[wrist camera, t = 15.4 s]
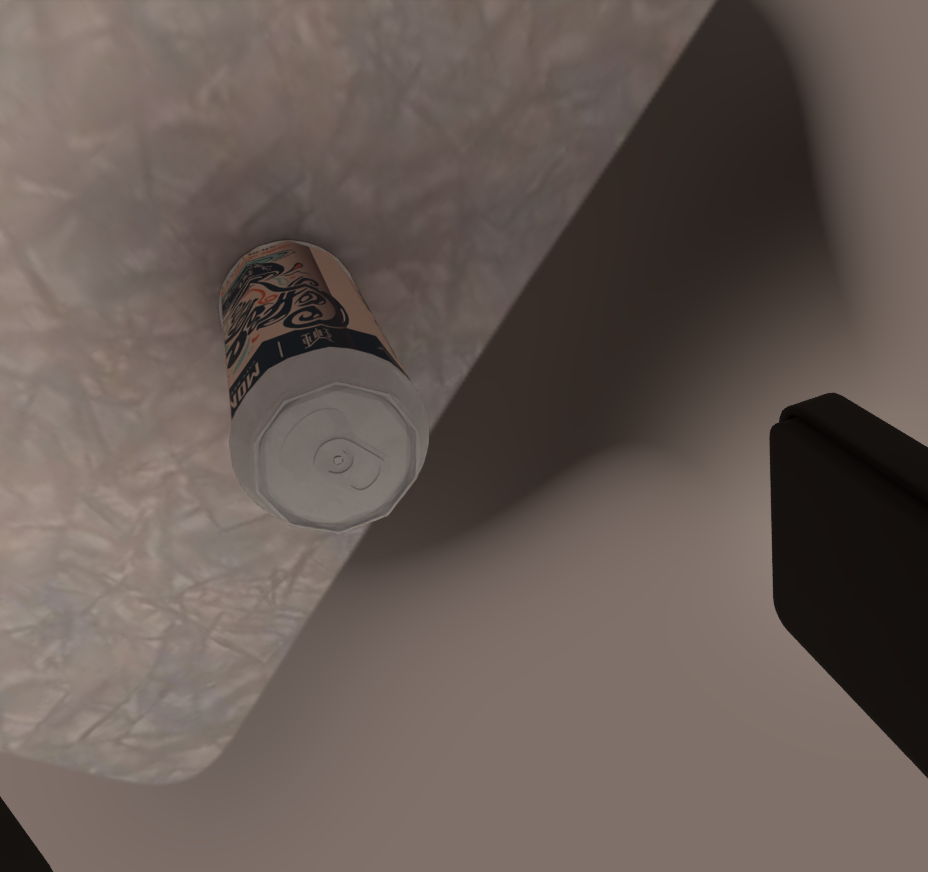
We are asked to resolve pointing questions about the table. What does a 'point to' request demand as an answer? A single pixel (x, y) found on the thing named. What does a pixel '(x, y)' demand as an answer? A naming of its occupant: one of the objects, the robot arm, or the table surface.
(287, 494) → the beer can
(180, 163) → the table surface
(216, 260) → the table surface
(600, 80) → the table surface
